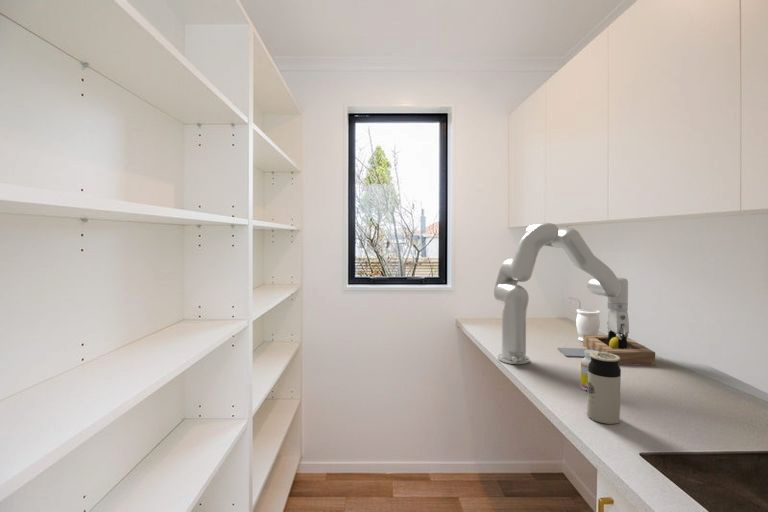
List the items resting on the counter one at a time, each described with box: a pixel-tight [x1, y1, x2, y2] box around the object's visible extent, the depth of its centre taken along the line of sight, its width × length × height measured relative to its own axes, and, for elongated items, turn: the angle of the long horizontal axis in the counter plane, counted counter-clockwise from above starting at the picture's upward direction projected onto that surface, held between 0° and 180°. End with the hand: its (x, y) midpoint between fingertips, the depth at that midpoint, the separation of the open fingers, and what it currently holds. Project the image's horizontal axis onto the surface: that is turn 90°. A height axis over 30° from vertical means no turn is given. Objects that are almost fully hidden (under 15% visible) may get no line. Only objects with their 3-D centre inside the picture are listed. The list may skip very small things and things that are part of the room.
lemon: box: [609, 337, 619, 349], centre depth 170 cm, size 6×6×8 cm
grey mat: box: [557, 347, 588, 358], centre depth 172 cm, size 12×12×1 cm
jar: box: [575, 308, 601, 342], centre depth 193 cm, size 11×10×15 cm
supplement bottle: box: [580, 349, 599, 392], centre depth 132 cm, size 7×7×13 cm
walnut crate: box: [582, 334, 656, 366], centre depth 170 cm, size 26×18×5 cm
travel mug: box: [586, 352, 622, 425], centre depth 110 cm, size 8×8×18 cm
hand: (617, 345), depth 170 cm, fingers open, 9 cm apart
